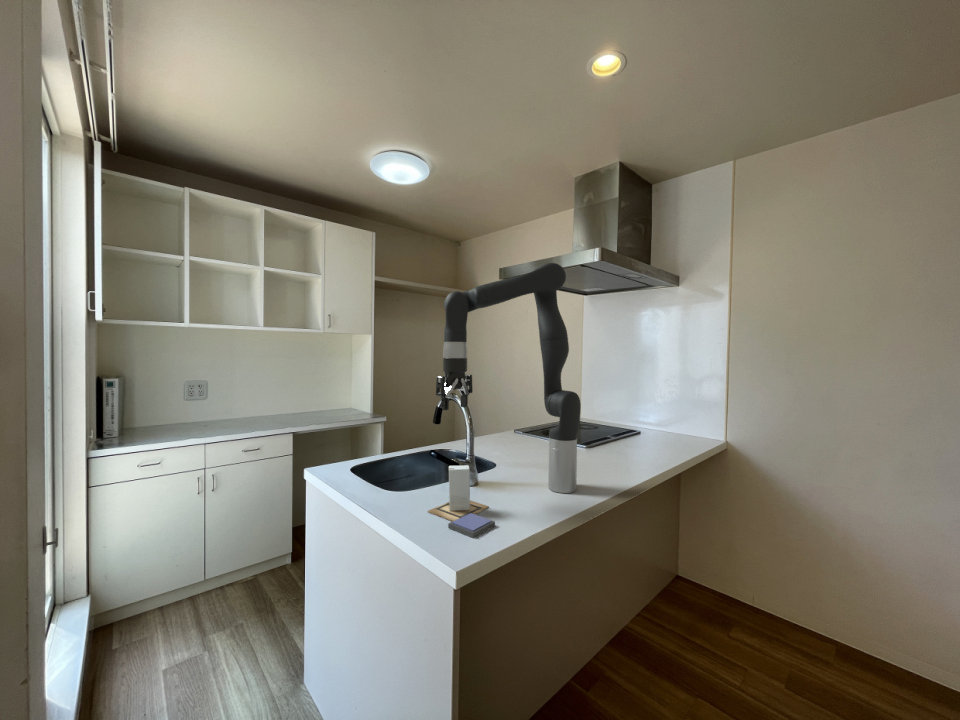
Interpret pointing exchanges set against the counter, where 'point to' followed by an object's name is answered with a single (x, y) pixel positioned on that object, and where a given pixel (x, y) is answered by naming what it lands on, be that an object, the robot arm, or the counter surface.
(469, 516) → the ink pad
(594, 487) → the counter surface
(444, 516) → the print sheet
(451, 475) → the skincare box
